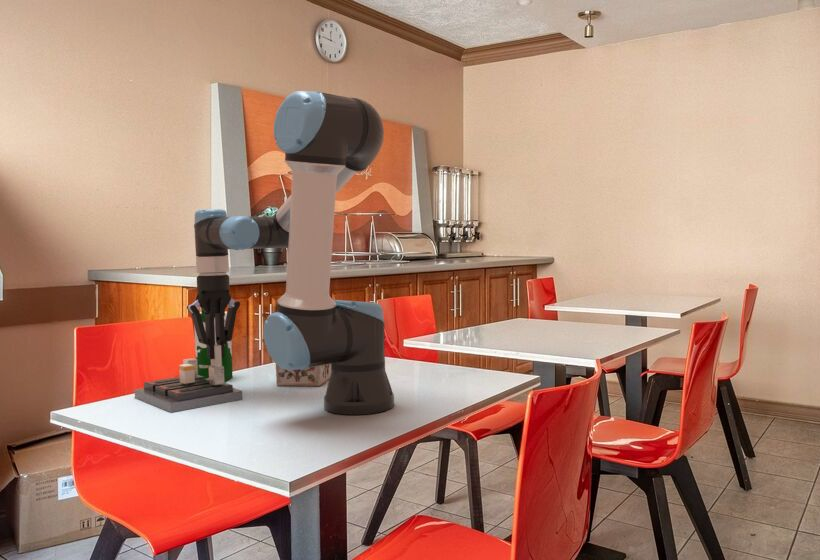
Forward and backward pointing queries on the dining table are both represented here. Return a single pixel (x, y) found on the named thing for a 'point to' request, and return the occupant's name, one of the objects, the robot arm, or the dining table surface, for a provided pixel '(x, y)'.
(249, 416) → the dining table surface
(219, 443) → the dining table surface
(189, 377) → the toggle
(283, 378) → the decorative jar
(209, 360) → the milk carton
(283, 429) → the dining table surface
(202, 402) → the breaker panel
